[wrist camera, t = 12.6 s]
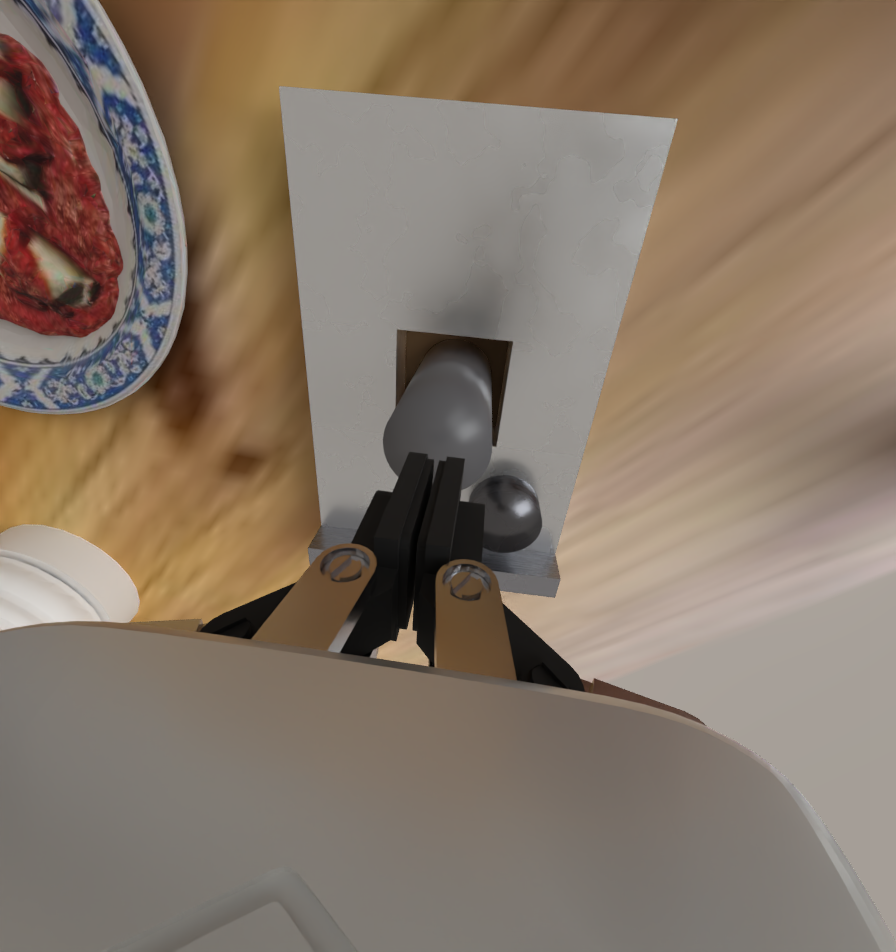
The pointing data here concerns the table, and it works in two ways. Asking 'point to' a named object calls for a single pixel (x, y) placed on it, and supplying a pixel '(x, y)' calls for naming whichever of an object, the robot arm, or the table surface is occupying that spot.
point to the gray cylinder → (445, 411)
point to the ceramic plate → (81, 214)
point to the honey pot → (60, 580)
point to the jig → (464, 287)
